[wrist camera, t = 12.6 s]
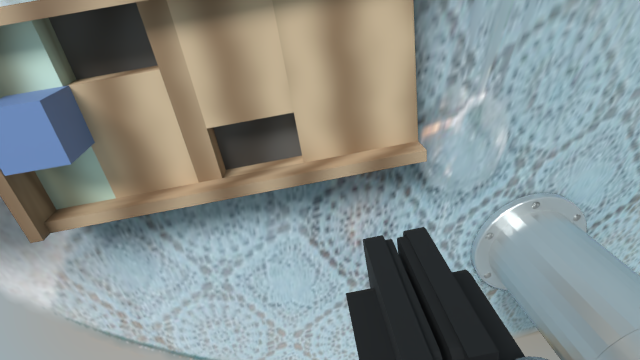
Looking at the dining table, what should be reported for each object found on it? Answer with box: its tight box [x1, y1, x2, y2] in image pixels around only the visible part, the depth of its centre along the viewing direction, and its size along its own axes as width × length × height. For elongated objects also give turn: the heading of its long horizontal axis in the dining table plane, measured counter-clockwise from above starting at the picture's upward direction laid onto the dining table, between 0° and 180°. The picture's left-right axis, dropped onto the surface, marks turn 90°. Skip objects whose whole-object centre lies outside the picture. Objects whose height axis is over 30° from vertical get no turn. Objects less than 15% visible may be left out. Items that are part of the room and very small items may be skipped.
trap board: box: [0, 0, 427, 243], centre depth 29 cm, size 32×16×6 cm, turn 100°
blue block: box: [0, 85, 95, 176], centre depth 27 cm, size 4×4×4 cm
